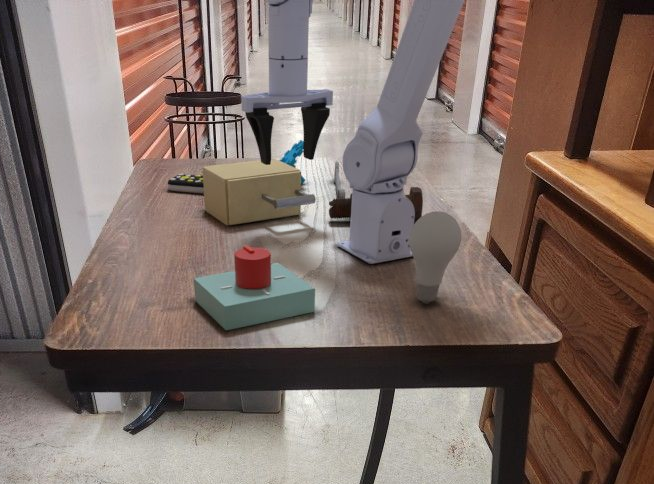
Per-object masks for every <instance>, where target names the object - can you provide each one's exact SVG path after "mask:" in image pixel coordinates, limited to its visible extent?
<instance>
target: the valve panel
mask: <svg viewBox="0 0 654 484" xmlns="http://www.w3.org/2000/svg"><path fill="white" fill-rule="evenodd" d="M193 288H194V290H193V291H194V300H195V302H196V303H197V304H198V305H199V306H200V307H201V308H202V309H203V310H204V311H205V312H206V313H207V314H208V315H209V316H211V318H212V319H213V320H214V321H215V322H217V324H218V325H220V326H221V327H222V328H223V330H225V331H231V330H236V329H240V328H244V327H248V326H254V325H258V324H263V323H269V322H272V321H277V320H278V321H279V320H282V319H287V318H291V317H296V316H302V315H306V314H311V313H315V309H316V287H314V286H312V285H311V284H310V283H308V282H307V281H306V280H304V279H302V278H301V277H299V276H298V275H296V274H295V273H294V272H292V271H291V270H289V269H288V268H287V267H285V266H283V265H282V264H280V263H279V262H276V263H271V284H270V285H269V286H267V287H264V288H260V289H245V288H241V287H239V286H237V285H236V282H235V270H231V271H226V272H220V273H214V274H209V275H203V276H198V277H194V278H193Z"/></svg>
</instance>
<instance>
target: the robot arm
mask: <svg viewBox="0 0 654 484" xmlns="http://www.w3.org/2000/svg"><path fill="white" fill-rule="evenodd" d="M465 1H466V0H414V1H413V3H412V5H411V9H410V12H409V15H408V17H407V21H406V23H405V27H404V28H403V32H402V35H401V37H400V40H399V42H398V47H397V49H396V52H395V54H394V57H393V61H392V63H391V65H390V68H389V71H388V74H387V77H386V80H385V82H384V86H383V89H382V91H381V94H380V97H379V99H378V102H377V106H376V107H375V108H374V109H373V110H372V111H371V113H369V114H368V115H367V116H366V117H365V118H364V119H363V120H362V122H360V123H359V125H358V127H357V130H356V134H354V137H353V138H352V139H351V140H350V141H349V142H348V143H347V145H346V146H345V149H344V151H343V155H342V171H343V174H344V176H345V178H346V179H345V180H347V182H348V183H349V189H352V190H351V191H352V192H351V193H352V205H351V221H350V220H349V222H350V223H349V236H348V237H349V238H348V240H343V241H338V242H337V246H338V247H339V248H341V249H342V250H344V251H346V252H348V253H350V254H352V255H353V256H355V257H357V258H359V259H360V260H362V261H364V262H366V263H367V264H370V265H374V264H380V263H384V262H389V261H395V260H400V259H405V258H411V257H413V255H412V252H411V249H410V245H409V236H410V233H411V230H412V227H413V225H414V218H415V210H414V206H413V204H412V202H411V201H410V200H409V199H408V198H407V197H406V196H405V195H406V194H405V190H404V186H405V185H407V179H408V176H410V175H411V174H412V173H413V171H414V170H415V168H416V165H417V162H418V157H419V156H418V155H419V145H420V141H421V139H422V136H423V130H422V129H421V126H420V124H419V123H418V121H417V120H418V117H419V114H420V112H421V109H422V108H423V104H424V102H425V100H426V96H427V95H428V92H429V90H430V88H431V85H432V82H433V79H434V77H435V75H436V72H437V70H438V67H439V66H440V62H441V60H442V57H443V55H444V52H445V50H446V48H447V45H448V42H449V40H450V37H451V35H452V33H453V30H454V28H455V26H456V23H457V20H458V18H459V15H460V13H461V10H462V8H463V5H464V3H465ZM265 2H267V19H268V21H267V22H268V23H267V27H268V28H267V29H268V41H267V42H268V91H267V92H266V91H265V92H261V93H254V94H247V95H241V96H240V99H241V100H240V101H241V103H240V104H241V111H242V112H245V113H244V114H245V118H246V120H247V122H248V124H249V127H250V128H251V130H252V133H253V135H254V138H255V142H256V145H257V149H258V153H259V157H260V160H261V163H263V164H265V165H271V159H272V135H273V126H274V121H275V117H274V116H273V115H270V112H269V111H270V110H271V111H272V110H285V109H295V108H300V112H301V113H300V114H301V119H302V127H303V129H302V130H303V140H302V141H303V153H302V154H303V158H305V159H307V160H309V161H310V160H311V161H312V160H314V158H315V154H316V150H317V147H318V143H319V139H320V137H321V133H322V131H323V129H324V127H325V125H326V123H327V121H328V119H329V117H330V114H331V108H330V107H327V106H333V101H334V91H333V90H332V89H327V88H326V89H325V88H324V89H308V75H309V74H308V73H309V72H308V69H309V30H310V29H309V26H310V23H309V22H310V18H311V15H312V14H313V4H314V0H265Z"/></svg>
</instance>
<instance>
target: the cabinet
mask: <svg viewBox="0 0 654 484" xmlns="http://www.w3.org/2000/svg"><path fill="white" fill-rule="evenodd" d="M279 160H280V159H277V158H274V157H273V158H272V157H271V165H265V164H263V163H261V159H257V160H247V161H238V162H231V163H222V164H214V165H213V164H212V165H205V166H202V176H203V184H204V194H203V195H204V197H203V198H204V199H203V200H204V211H205V212H206V213H207V214H210V215H211V216H212V217H213V218H215V219H217V220H218V221H220V223H223V224H224V225H226V226H231V225H230V224H229V206H228V185H227V180H233V179H241V178H249V177H257V176H265V175H273V174H281V173H289V172H297V171H300V172H301V170H300V169H299V168H297V167H295V168H294V167H292V166H290V165H288V164H285V163H283V162H281V161H279ZM292 216H294V215H292ZM280 218H281V217H279V218H278V219H280ZM266 220H268V219H266ZM266 220H265V221H266ZM253 222H255V221H253ZM247 223H248V222H246V223H245V224H247ZM233 225H235V224H233ZM233 225H232V226H233Z"/></svg>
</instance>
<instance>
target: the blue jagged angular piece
mask: <svg viewBox="0 0 654 484" xmlns="http://www.w3.org/2000/svg"><path fill="white" fill-rule="evenodd" d="M303 141H304V140H302V139H300V140H299V141H298V143H297V142H295V143H294V144H293V145H292V146H291V148H290V149H288V150H286V151H285V153H284V154H283V157H282V158H280V159H278V160H279V161H281V162H283V163H285V164H288V165H290V166H292V167H294V168H297V166H296V165H295V164H297V158H298V157H301V156H302V154H304V153H303ZM305 182H306V179H305V177H303V175H302V174H301V185H303V184H304V183H305Z"/></svg>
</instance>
